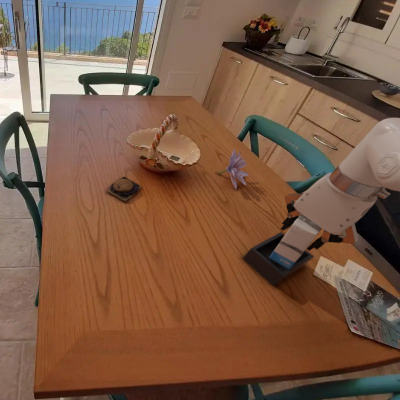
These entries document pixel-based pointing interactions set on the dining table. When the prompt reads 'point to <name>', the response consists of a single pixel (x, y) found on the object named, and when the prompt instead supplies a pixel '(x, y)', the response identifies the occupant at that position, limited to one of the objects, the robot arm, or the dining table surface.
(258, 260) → the holder
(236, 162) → the water lily
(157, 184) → the dining table surface
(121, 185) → the square push button
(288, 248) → the ink box
